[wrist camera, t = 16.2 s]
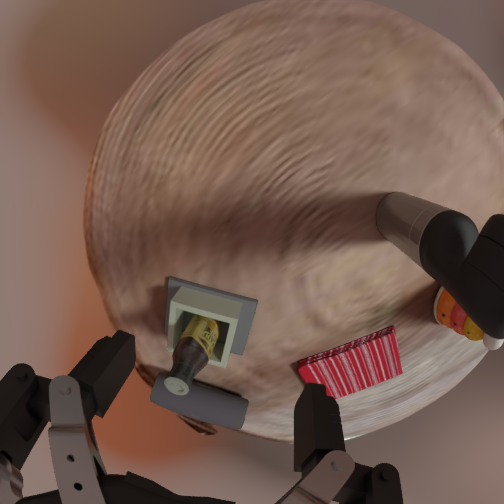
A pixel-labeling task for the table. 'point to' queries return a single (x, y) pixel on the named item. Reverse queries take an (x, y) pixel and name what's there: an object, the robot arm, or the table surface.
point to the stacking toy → (460, 320)
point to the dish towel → (354, 364)
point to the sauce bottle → (192, 353)
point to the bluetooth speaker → (202, 403)
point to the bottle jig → (209, 316)
